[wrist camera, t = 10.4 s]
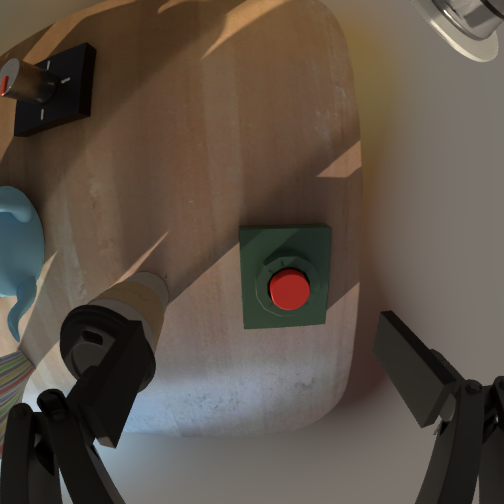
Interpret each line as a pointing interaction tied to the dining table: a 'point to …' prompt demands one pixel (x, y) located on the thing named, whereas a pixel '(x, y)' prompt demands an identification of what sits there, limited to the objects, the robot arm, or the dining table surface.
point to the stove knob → (26, 82)
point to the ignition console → (279, 258)
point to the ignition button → (289, 289)
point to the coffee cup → (114, 322)
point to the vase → (12, 385)
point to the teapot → (19, 252)
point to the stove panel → (60, 92)
